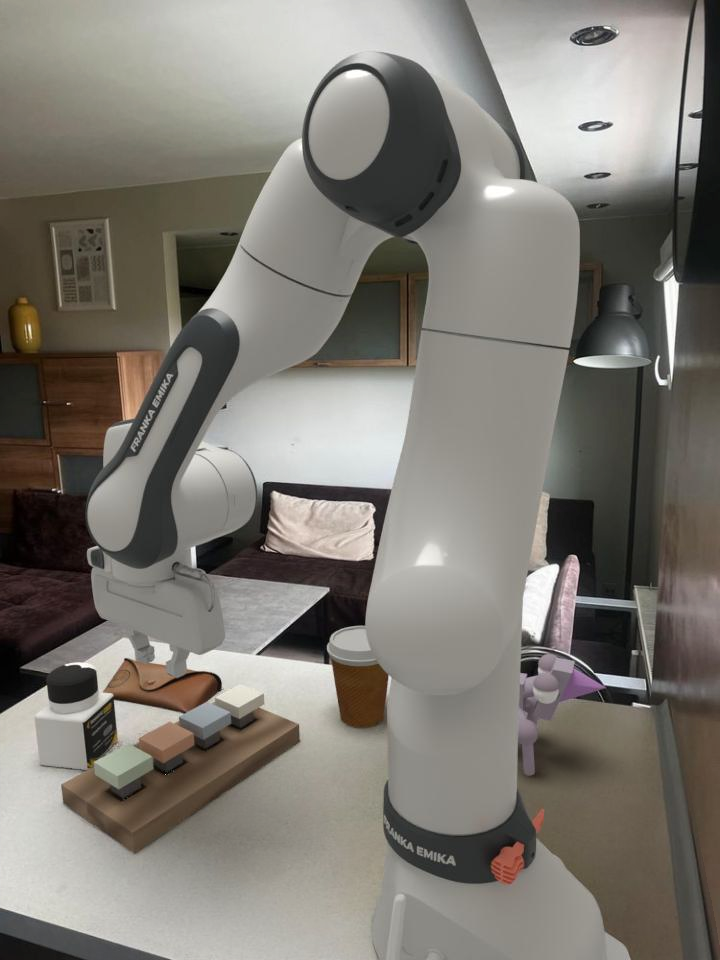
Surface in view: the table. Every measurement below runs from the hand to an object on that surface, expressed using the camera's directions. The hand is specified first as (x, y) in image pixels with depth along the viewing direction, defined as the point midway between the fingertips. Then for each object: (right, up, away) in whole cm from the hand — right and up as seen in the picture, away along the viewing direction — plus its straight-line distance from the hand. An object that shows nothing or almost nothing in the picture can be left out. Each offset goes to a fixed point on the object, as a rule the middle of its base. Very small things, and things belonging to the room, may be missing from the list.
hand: (160, 668), depth 83 cm
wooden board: (+2, -14, +5) cm, 15 cm away
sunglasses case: (-7, -11, +25) cm, 29 cm away
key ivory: (+8, -10, +12) cm, 17 cm away
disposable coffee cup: (+24, -12, +17) cm, 32 cm away
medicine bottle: (-13, -14, +10) cm, 22 cm away
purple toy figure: (+44, -13, +7) cm, 47 cm away
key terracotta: (0, -12, +2) cm, 13 cm away
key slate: (+4, -11, +7) cm, 14 cm away
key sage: (-3, -13, -2) cm, 14 cm away
